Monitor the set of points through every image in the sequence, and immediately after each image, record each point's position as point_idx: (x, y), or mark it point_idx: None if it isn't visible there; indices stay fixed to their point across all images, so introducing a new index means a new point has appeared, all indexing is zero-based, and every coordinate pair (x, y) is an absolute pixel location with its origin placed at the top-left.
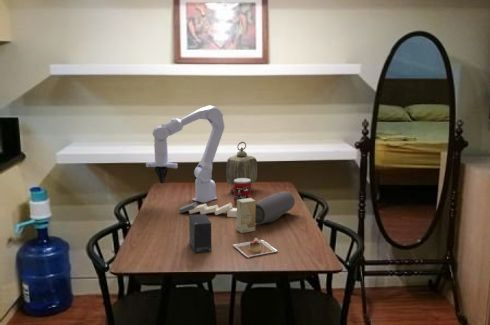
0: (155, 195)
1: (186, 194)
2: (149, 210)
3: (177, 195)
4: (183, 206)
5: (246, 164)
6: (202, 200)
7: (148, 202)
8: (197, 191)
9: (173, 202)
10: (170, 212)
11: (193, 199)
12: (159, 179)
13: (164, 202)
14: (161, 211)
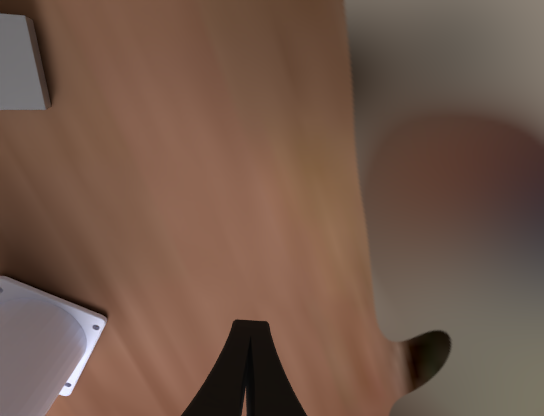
0: (356, 366)
1: (188, 399)
2: (305, 64)
3: None
4: (27, 105)
5: None
6: (17, 300)
7: (364, 245)
8: (13, 351)
9: (202, 264)
10: (121, 32)
11: (88, 314)
12: (272, 351)
13: (259, 257)
14: (203, 50)
